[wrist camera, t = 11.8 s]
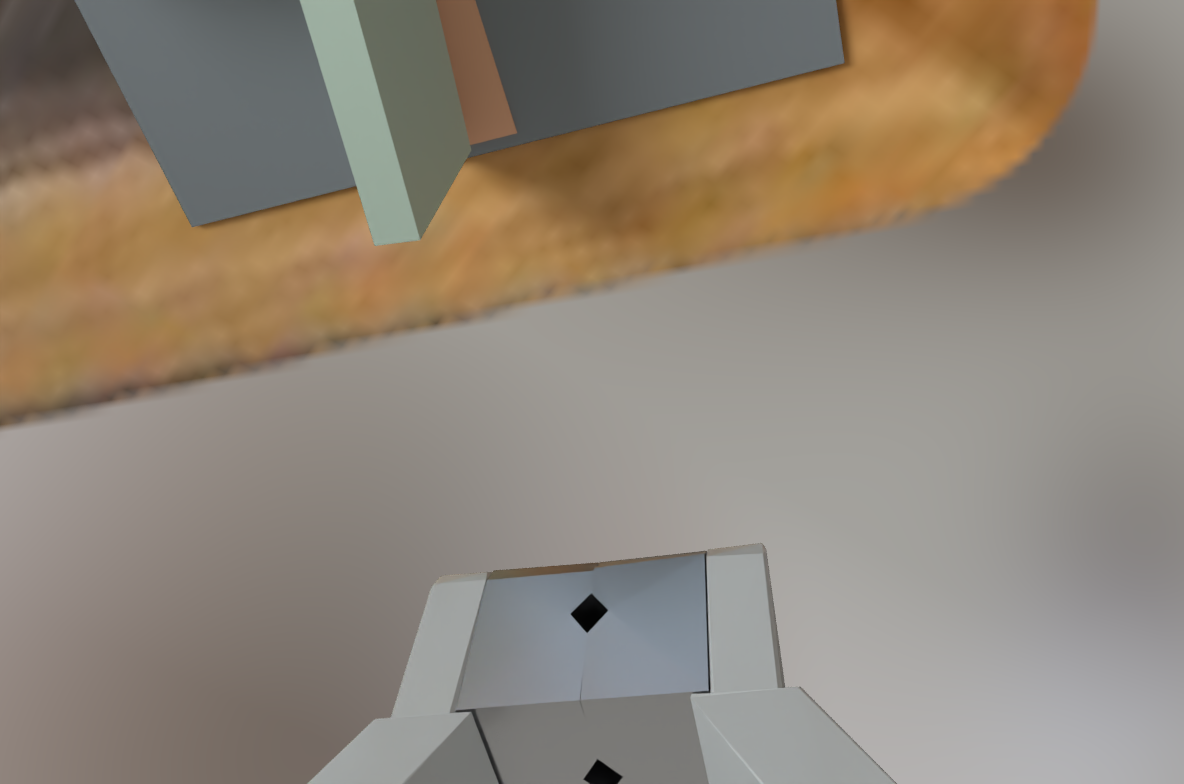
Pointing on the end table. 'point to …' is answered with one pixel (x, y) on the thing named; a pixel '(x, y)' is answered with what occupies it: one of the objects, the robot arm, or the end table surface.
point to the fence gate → (392, 107)
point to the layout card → (480, 67)
